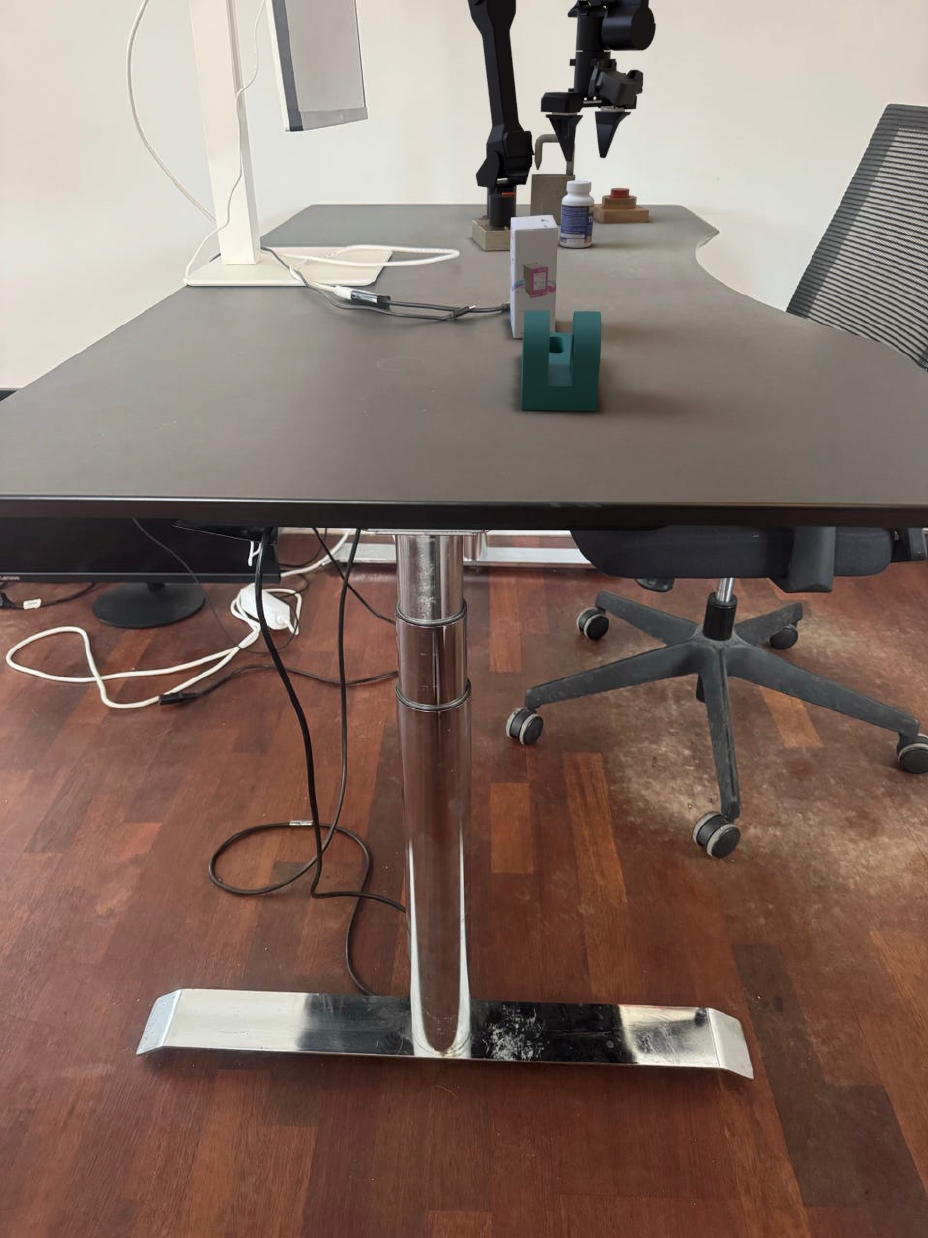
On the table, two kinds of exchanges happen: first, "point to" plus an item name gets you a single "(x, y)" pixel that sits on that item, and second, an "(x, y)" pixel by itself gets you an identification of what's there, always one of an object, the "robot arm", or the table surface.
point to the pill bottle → (577, 215)
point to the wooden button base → (620, 210)
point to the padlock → (549, 184)
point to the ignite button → (619, 193)
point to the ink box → (532, 268)
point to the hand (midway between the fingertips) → (586, 159)
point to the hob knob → (501, 209)
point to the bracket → (560, 362)
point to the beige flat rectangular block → (491, 235)
